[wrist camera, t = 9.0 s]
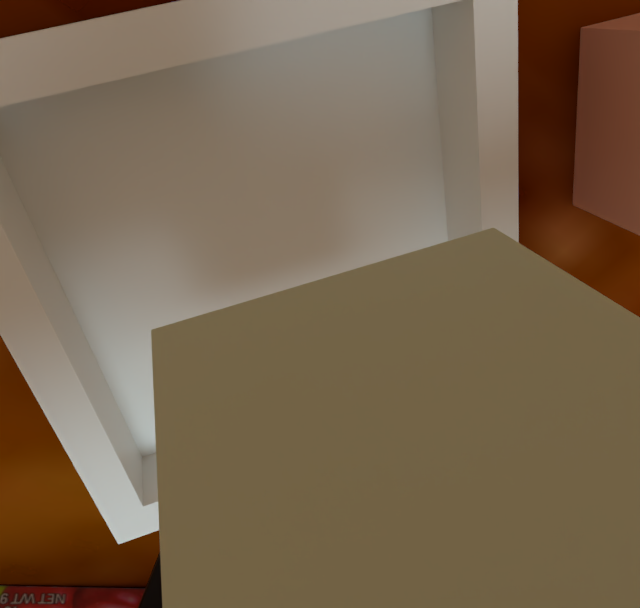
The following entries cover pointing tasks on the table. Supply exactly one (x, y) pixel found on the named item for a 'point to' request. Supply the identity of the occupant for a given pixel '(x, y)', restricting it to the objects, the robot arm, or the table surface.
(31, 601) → the snack box
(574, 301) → the sage green block
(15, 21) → the table surface
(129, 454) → the parts tray
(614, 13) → the table surface
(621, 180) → the terracotta block
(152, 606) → the robot arm
